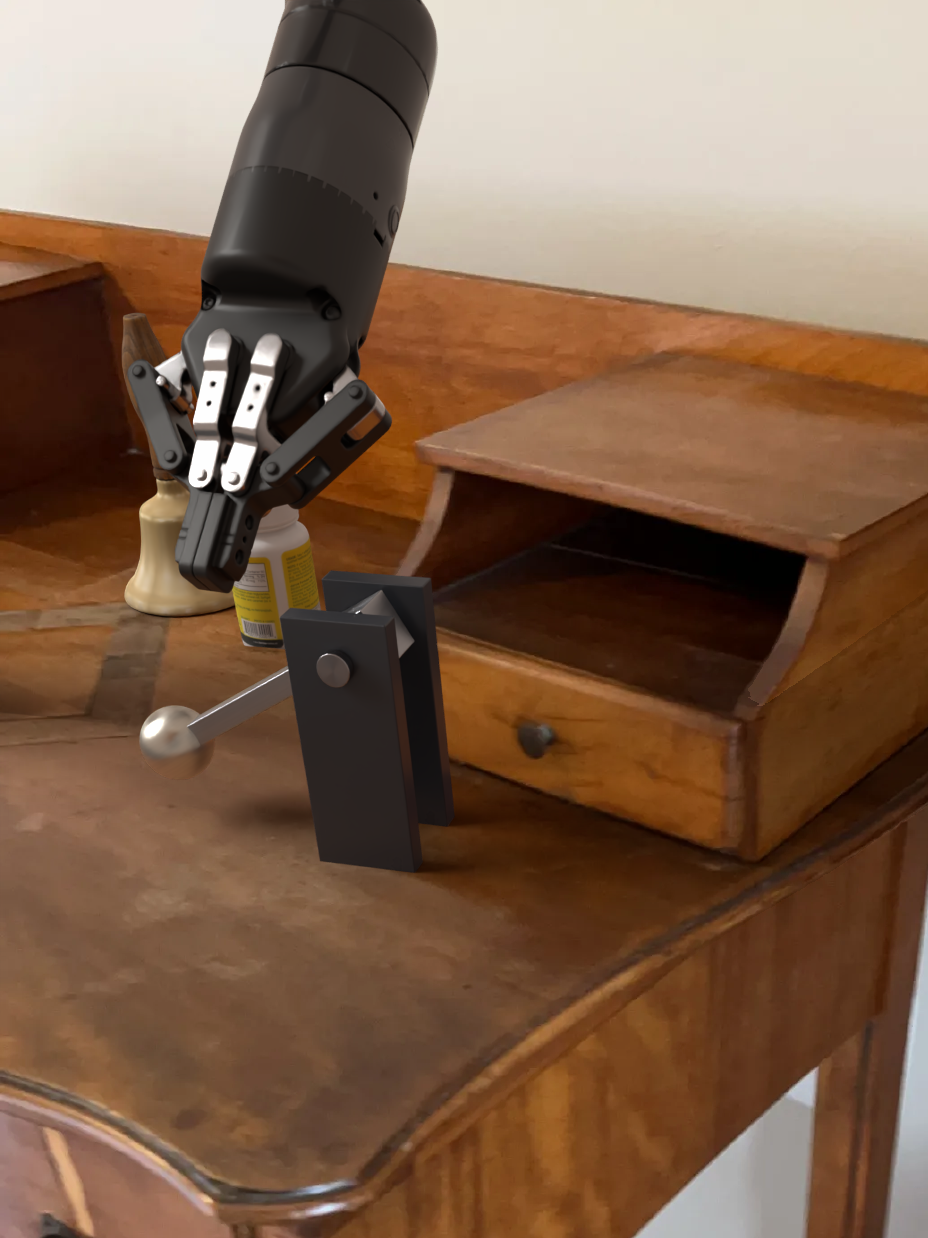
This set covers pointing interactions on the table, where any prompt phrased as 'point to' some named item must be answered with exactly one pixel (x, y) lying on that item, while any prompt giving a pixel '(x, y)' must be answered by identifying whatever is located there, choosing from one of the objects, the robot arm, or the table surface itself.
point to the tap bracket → (370, 720)
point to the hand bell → (161, 513)
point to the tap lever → (229, 712)
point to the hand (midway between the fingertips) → (204, 584)
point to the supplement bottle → (275, 578)
